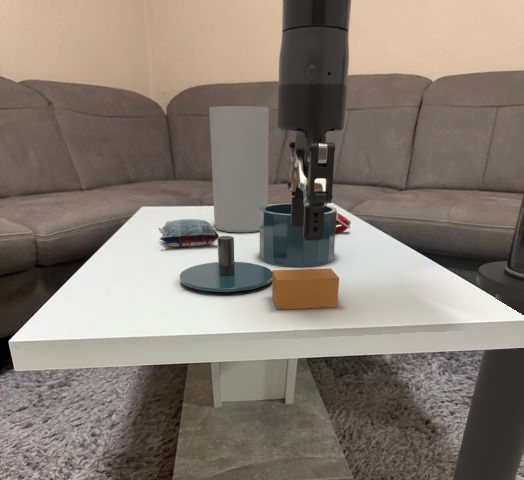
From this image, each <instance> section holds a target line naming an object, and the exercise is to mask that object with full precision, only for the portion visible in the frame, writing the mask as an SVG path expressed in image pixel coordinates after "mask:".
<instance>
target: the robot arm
mask: <svg viewBox="0 0 524 480" xmlns="http://www.w3.org/2000/svg"><path fill="white" fill-rule="evenodd" d="M351 7H352V0H282V17H281V23H282V24H281V32H282V33H281V42H280V49H279V57H278V91H277V94H278V95H277V127H278V129H279V130H280V131H283V132H285V131H287V132H288V131H289V132H292V131H293V132H294V133H295V139H291V140H289V143H288V148H289V152H288V153H289V154H288V179H287V180H288V181H287V189H288V190H289V194H290V196H291V203H292V204H291V224H292V226H294V227H303V237H304V239H305V240H307V241H317V240H321V239H322V237H323V225H324V210H325V207H326V206H328V204H331V203H332V200H333V186H334V185H333V184H334V166H335V151H336V145H335V142H327V136H326V135H327V133H328V132H340V131H342V130H343V129H344V127H345V119H346V107H347V92H348V81H349V80H348V79H349V67H350V41H349V40H350V38H349V37H350V33H349V32H350V23H351V9H352V8H351ZM506 261H507V264H506V265H505V269H504V272H505V273H506V274H507V275H509V276H511V277H513V278H516V279H519V280H523V281H524V192H523V193H522V198H521V202H520V207H519V210H518V215H517V219H516V222H515V226H514V231H513V235H512V239H511V243H510V248H509V252H508V255H507V260H506Z"/></svg>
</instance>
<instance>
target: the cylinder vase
mask: <svg viewBox="0 0 524 480" xmlns="http://www.w3.org/2000/svg"><path fill="white" fill-rule="evenodd" d="M208 111H209V130H210V131H209V132H210V153H211V154H210V155H211V175H212V176H211V177H212V195H213V197H212V198H213V200H212V201H213V219H214V228H216V230H217V231H221V232H226V233H237V234H238V233H239V234H241V233H244V234H245V233H246V234H247V233H256V232H260V208H261V207H263V206H267V205H269V152H270V151H269V147H270V146H269V142H270V141H269V139H270V138H269V136H270V135H269V131H270V129H269V124H270V123H269V122H270V119H269V117H270V116H269V115H270V108H269V106H260V105H259V106H257V105H256V106H255V105H253V106H252V105H223V106H221V105H219V106H209V107H208Z"/></svg>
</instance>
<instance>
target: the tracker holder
mask: <svg viewBox="0 0 524 480" xmlns="http://www.w3.org/2000/svg"><path fill="white" fill-rule="evenodd" d="M351 224H352V222H351V220H350V219H349V218H347V217H346V216H344V215H343V214H341V213H339V212H337V216H336V230H335V234H336V233H337V234H338V233H343V232H345V231H347V230H348V229H350V228H351Z"/></svg>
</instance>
